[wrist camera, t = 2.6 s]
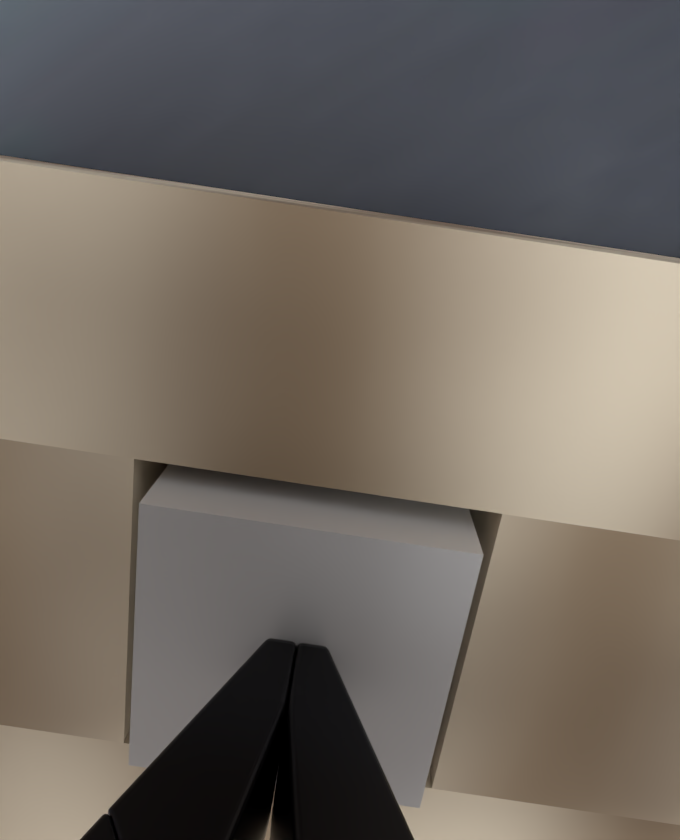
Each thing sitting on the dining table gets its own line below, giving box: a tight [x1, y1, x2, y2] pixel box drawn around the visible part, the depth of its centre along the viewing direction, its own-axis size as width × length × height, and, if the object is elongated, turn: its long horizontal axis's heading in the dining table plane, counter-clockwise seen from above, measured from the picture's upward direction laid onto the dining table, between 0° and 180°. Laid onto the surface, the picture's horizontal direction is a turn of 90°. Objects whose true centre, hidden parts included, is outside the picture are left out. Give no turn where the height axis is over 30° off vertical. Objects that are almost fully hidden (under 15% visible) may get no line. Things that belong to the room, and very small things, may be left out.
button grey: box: [129, 464, 483, 808], centre depth 10 cm, size 4×4×4 cm
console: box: [0, 155, 680, 840], centre depth 13 cm, size 14×24×4 cm, turn 172°
